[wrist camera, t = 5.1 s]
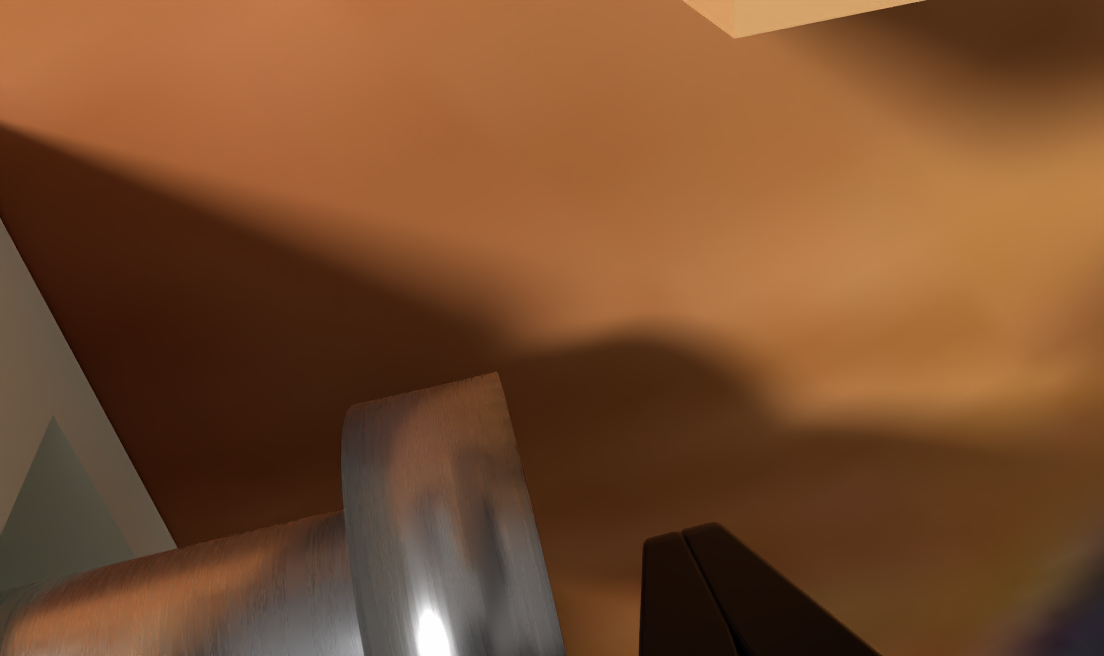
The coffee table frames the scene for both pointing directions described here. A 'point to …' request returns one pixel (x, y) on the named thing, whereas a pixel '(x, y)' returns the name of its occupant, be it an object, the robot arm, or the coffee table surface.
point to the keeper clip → (780, 12)
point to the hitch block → (59, 452)
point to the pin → (338, 558)
